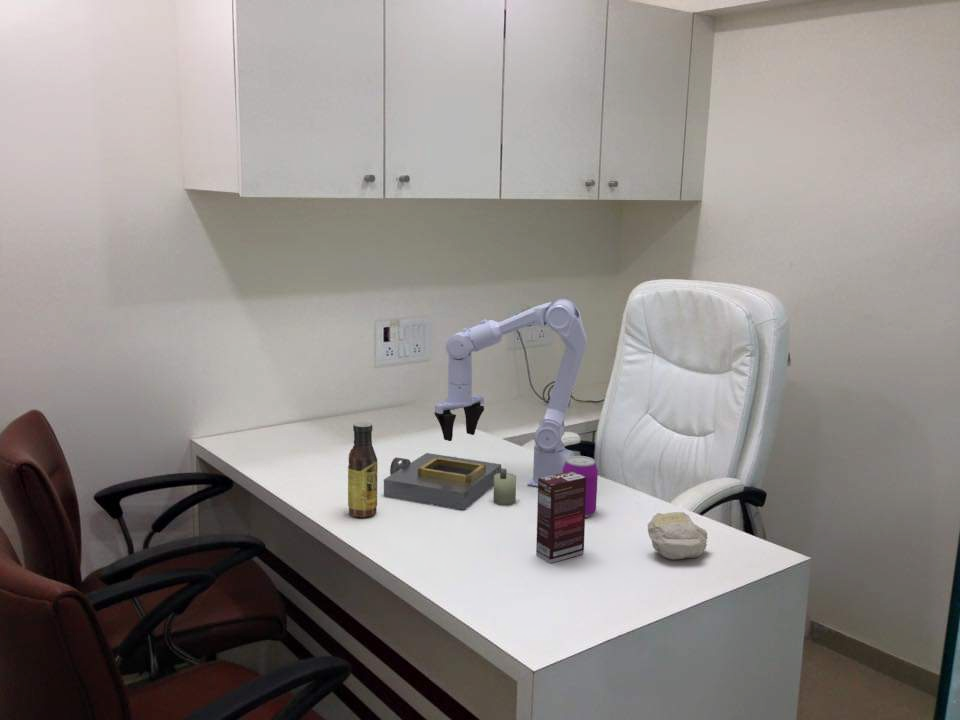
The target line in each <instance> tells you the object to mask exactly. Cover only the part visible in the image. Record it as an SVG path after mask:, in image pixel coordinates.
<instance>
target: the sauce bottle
mask: <svg viewBox="0 0 960 720" xmlns="http://www.w3.org/2000/svg"><path fill="white" fill-rule="evenodd" d="M352 428H353V429H352V431H353V438H354V439H353V446H352V448H351V449H350V451H349V454H348V465H347V506H348V513H349V515H350V516H352V517H354V518H361V519H363V518H364V519H365V518H369V517H371V516H372V517H373V516H374V515H375V514H376V513H377V507H378V458H377V454H376V451H375V449H374V446H373V440H372V432H373V423H370V422H367V421H366V422H365V421H361V422H355V423H353V426H352Z"/></svg>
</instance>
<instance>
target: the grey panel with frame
mask: <svg viewBox="0 0 960 720" xmlns="http://www.w3.org/2000/svg"><path fill="white" fill-rule="evenodd" d="M500 469H502V463H495V462H489V461H488V462H487V461H482V460H475V459H471V458H470V459H469V458H462V457H457V456H450V455H443V454H436V453H430V452H426V453H424V454H423V455H421V456H419V457H417V458H416V459H415V460H413V461H411V460H410V459H408V458H403V457H394V458H393V459H392V461H391V463H390V468H389V474H390V475H389V476H386V477H385V478H384V479H383V497H386V498H392V499H396V500H402V501H409V502H413V501H414V502H413V503H419V502H420V503H419V504H425V503H426V504H425V505H430V504H433V505H432V506H436V505H438V507H441V506H443V507H442V508H447V507H450V508H449V509H453V508H456V509H455V510H458V509H462V510H461V511H465V510H466V508H467V507H468V508H469V507H471V506H472V505H473V504H474V503H475V502H476V501H478V499H480V498H481V497H483V496H484V495H485V494H486V493H488V492H489V490H490V489H492V488H494V475H495V474H498V473H500ZM473 502H474V503H473ZM472 503H473V504H472Z"/></svg>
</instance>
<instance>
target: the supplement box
mask: <svg viewBox="0 0 960 720" xmlns="http://www.w3.org/2000/svg"><path fill="white" fill-rule="evenodd" d="M585 502H586V477H585V476H583V475H581V474H578V473H576V472H573V471H569V472H565V473H560V474H555V475H551V476H546V477H541V478H538V487H537V508H536V509H537V512H536V513H537V514H536V515H537V517H536V519H537V520H536V544H535V545H536V550H535V551H536V553H535V555H536V556H537V557H539V558H540V559H543V560H544V561H545V562H547V563H549V564H553V563H555V562H560V561H564V560H566V559H570V558H573V557H577V556H580V555H583V554H585V553H584V552H585V531H586V530H585V528H586V524H585V523H586V517H585Z"/></svg>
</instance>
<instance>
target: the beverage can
mask: <svg viewBox="0 0 960 720" xmlns="http://www.w3.org/2000/svg"><path fill="white" fill-rule="evenodd" d="M569 471H573V472H576V473H578V474H581V475H583V476H585V477H586V502H585V518H589V517H591V516H593V514H594V513H595V512H596V511H597V498H598V497H597V496H598V495H597V493H598V478H599V476H598V475H599V470H598V467H597V464H596V461H595V459H594V458H593V457H590V456H584V455H574V456H571V457H568V458H567V459H566V462H565V464H564V467H563V473H565V472H569Z"/></svg>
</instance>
